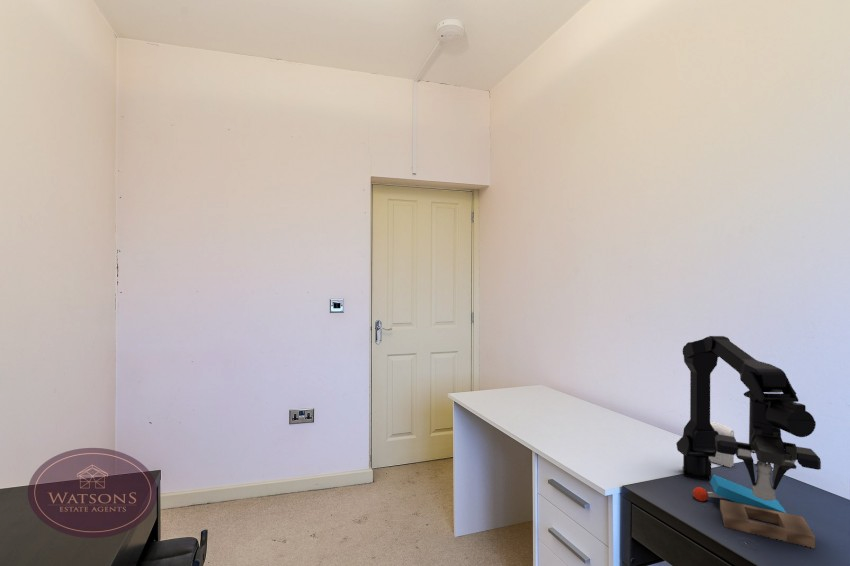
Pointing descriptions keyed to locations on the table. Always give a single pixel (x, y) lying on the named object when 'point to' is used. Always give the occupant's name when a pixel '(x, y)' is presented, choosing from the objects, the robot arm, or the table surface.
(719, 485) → the lever
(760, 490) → the rook chess piece
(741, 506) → the walnut socket board
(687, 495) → the table surface
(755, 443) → the robot arm
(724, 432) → the photo printer
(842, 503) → the table surface
